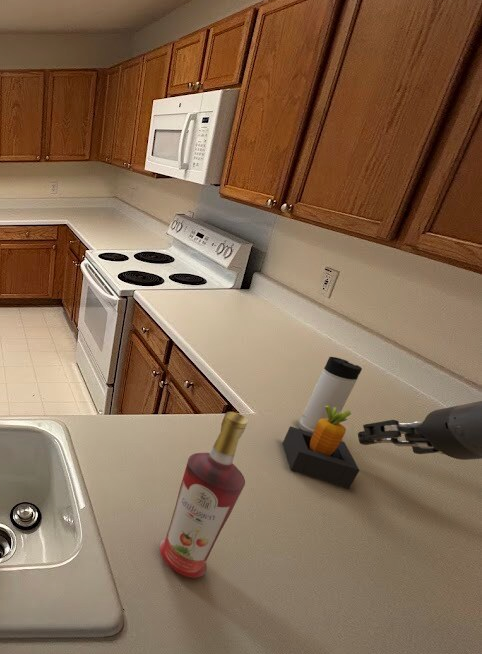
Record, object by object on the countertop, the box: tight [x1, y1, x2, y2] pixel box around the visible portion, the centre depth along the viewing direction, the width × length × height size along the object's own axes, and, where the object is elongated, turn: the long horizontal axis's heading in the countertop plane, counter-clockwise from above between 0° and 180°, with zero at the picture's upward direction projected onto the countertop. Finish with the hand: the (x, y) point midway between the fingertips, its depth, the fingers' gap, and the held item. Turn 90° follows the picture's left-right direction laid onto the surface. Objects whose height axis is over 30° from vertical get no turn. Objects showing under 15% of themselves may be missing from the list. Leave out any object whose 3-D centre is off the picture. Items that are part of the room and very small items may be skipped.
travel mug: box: [297, 356, 363, 433], centre depth 99 cm, size 6×7×20 cm
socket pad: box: [282, 425, 360, 490], centre depth 90 cm, size 10×10×5 cm
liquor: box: [159, 411, 249, 578], centre depth 60 cm, size 7×7×28 cm
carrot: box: [309, 406, 352, 456], centre depth 88 cm, size 5×5×15 cm
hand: (387, 443), depth 74 cm, fingers open, 8 cm apart
